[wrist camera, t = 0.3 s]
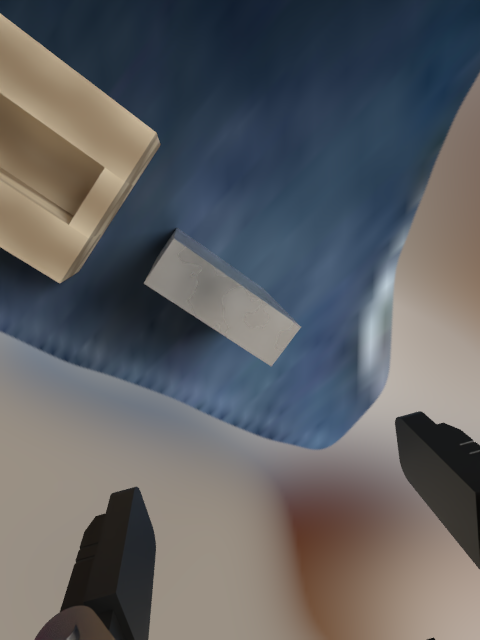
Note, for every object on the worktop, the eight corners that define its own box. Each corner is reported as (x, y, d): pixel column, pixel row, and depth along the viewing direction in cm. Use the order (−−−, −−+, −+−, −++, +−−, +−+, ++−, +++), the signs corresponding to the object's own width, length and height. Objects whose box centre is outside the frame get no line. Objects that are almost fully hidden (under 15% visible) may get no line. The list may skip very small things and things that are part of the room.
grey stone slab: (176, 227, 34) (173, 238, 23) (263, 289, 36) (301, 326, 25) (156, 257, 35) (143, 283, 23) (243, 316, 37) (271, 366, 25)
